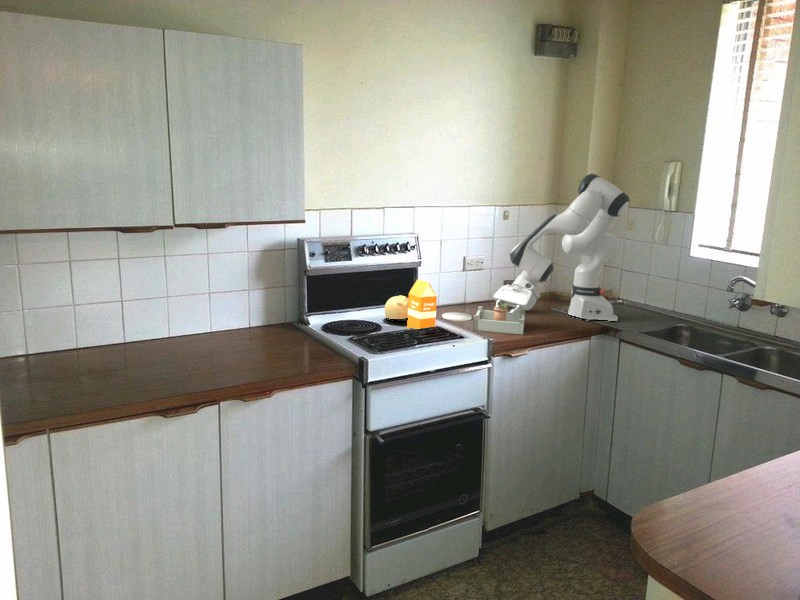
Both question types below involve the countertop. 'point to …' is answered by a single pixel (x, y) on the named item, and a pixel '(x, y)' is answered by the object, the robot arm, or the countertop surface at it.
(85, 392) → the countertop surface
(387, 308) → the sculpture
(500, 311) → the terracotta pot
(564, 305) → the countertop surface
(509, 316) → the green tray
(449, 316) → the saucer
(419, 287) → the orange juice
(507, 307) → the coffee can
